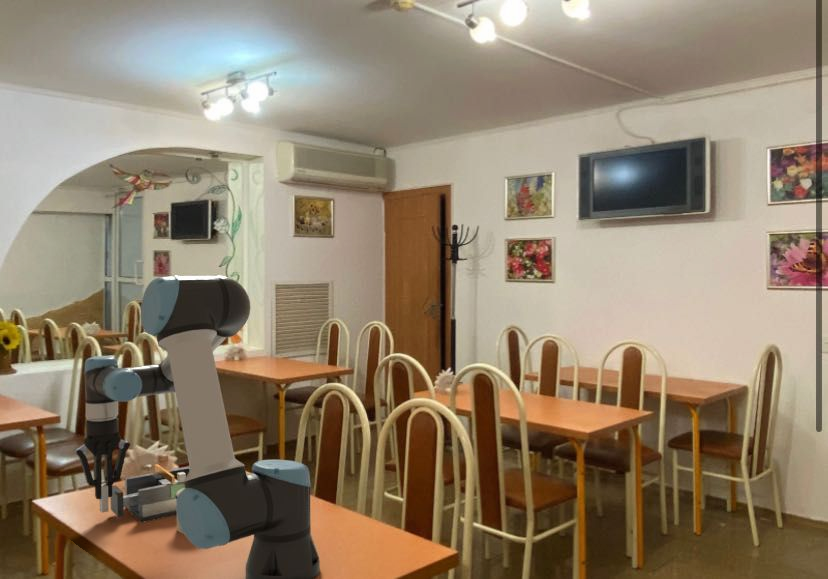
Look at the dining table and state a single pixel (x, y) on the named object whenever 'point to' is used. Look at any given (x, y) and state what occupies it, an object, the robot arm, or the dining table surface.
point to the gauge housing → (154, 495)
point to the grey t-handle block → (132, 499)
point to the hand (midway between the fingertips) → (104, 510)
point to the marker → (181, 476)
